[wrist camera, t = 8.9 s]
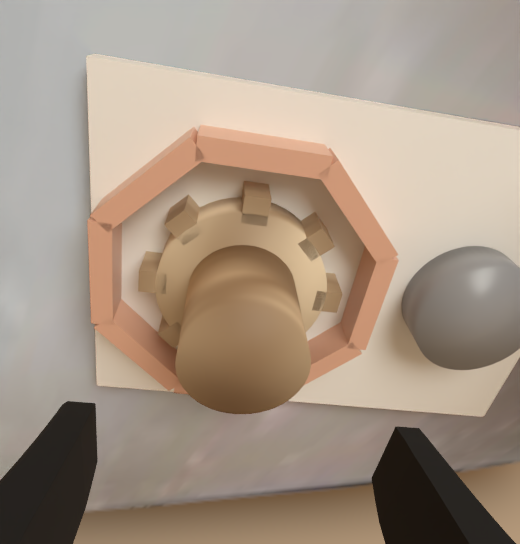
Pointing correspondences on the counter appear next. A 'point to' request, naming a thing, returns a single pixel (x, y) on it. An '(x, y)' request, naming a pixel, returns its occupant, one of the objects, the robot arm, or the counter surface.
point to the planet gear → (240, 297)
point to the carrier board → (335, 216)
